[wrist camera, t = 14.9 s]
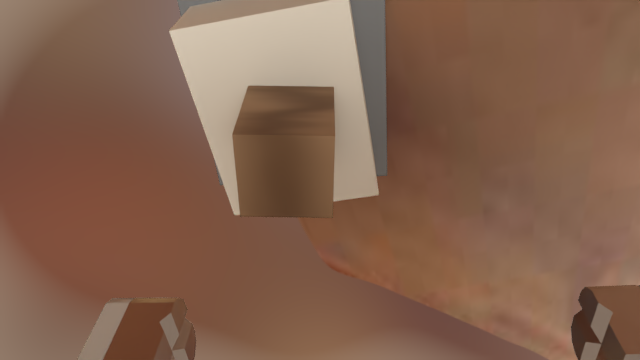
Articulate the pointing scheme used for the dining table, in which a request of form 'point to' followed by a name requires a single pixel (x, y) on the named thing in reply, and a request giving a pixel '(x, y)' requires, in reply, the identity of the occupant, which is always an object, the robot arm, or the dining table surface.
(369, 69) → the tower base
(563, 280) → the dining table surface
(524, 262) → the dining table surface
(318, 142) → the walnut block
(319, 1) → the tower top
